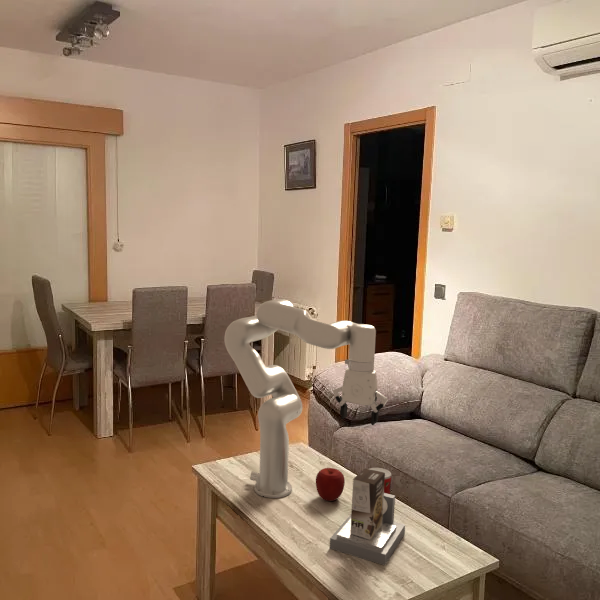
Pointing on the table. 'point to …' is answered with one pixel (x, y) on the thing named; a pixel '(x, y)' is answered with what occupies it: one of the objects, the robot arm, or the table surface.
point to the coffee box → (367, 503)
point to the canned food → (387, 479)
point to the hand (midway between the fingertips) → (358, 420)
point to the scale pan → (375, 543)
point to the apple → (330, 484)
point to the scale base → (368, 552)
